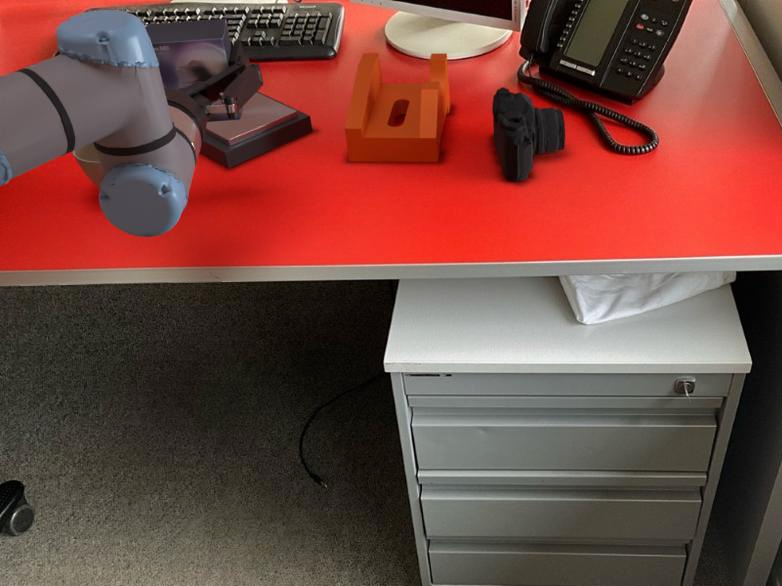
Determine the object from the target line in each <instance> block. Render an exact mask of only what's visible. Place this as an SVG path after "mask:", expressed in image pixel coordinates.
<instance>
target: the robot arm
mask: <svg viewBox="0 0 782 586" xmlns="http://www.w3.org/2000/svg"><path fill="white" fill-rule="evenodd" d="M144 24H145V23H144V22H143V21H142V20H141V19H140V18H139V17H138V16H137V15H134V14H133V13H130V12H126V11H124V10H120V9H98V10H97V9H96V10H90V11H85V12H81V13H78V14H75V15H72V16H70V17H68V18H67V19H66V20H65V21H62V22H60V23H59V25H58V26H57V27H56V30H55V38H56V41H57V46H56V48H57V50H58V52H59V54H58V55H55V56H53V57H49V58H47V59H44V60H41V61H39V62H37V63H33V64H31V65H28V66H25V67H23V68H20V69H17V70H14V71H12V72H10V73H7V74H4V75H0V187H2V186H4V185H6V184H8V183H9V182H10V181H11V180H13V179H14V178H17V177H19V176H21V175H24V174H25V173H28V172H30V171H32V170H34V169H36V168H38V167H40V166H42V165H44V164H47V163H49V162H51V161H53V160H55V159H58V158H60V157H61V156H62V157H63V156H65V155H67V154H70V153H73V151H75V150H77V149H80V148H82V147H84V146H86V145H89V144H91V143H93V144H94V146H95V149H96V151H97V154H98V157H99V160H100V163H101V166H102V169H103V172H104V176H103V178H102V180H101V182H100V189H99V194H98V203H99V207H100V209H101V212H102V214H103V215H104V217H105V218H106V219H107V220H108V222H109V223H110V224H111V225H112V226H114V227H115V228H117V229H118V230H119V231H122V232H123V233H125V234H128V235H131V236H135V237H140V238H141V237H142V238H153V237H158V236H161V235H163V234H166V233H167V232H169V231H171V230H172V229H173V228H174V227H175V226H176V225H177V223H178V222H179V221H180V219H181V216H182V214H183V211H184V210H185V209H186V207H187V204H188V202H189V201H188V199H189V194H190V190H191V185H192V181H193V177H194V173H195V169H196V167H197V164H198V159H199V155H200V154H201V153H200V149H201V146H202V143H203V139H204V136H205V132H206V126H207V121H208V120H210V119H211V118H212V117H213V115H214V114H217V113H224V114H225V115H227V117H228V119H236V118H238V116H239V110H240V109H241V108H242V107H243V106H244V105H245V104H246V103H247V102H248V100H249V99H250V98H251V97H252V96H253V95H254V94H255V93H256V92H257V91H258V92H259V90H260V89H261V88H262V87H264V79H263V75H262V70H261V65H260V63H259V62H253V63H250V58H249V56H248V55H247V54H244V50H243V45H242V41H241V40H240V39H238V40H234V41H233V45H232V51H231V55H230V59H229V64H230V67H228V68H227V69H225V70H223V71H222V72H220V73H218V74H217V75H215V76H213V77H212V78H210V79H208V80H206V81H205V82H202V81H197V82H195V83H193V84H192V85H190V86H188V87H186V88H184V87H183V88H180V89H179V90H176V89H172V88H164V87H163V83H162V79H161V75H160V71H159V62H158V60H157V57H156V54H155V51H154V49H153V46H152V43H151V40H150V38H149V36H148V33H147V31H146V28H145V26H144Z"/></svg>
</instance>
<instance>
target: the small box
mask: <svg viewBox="0 0 782 586" xmlns="http://www.w3.org/2000/svg"><path fill="white" fill-rule="evenodd" d="M143 24H144V26H145V28H146V31H147V33H148V36H149V38H150V40H151V43H152V46H153V49H154V51H155V54H156V57H157V60H158V62H159V71H160V75H161V79H162V83H163V87H164V88H172V89H176V90H179V89H180V88H183V87H184V88H186V87H188V86H190V85H192V84H193V83H195V82H197V81H202V82H205V81H206V80H208V79H210V78H212V77H213V76H215V75H217V74H218V73H220V72H222V71H223V70H225V69H227V68H228V67H230V64H229V59H230V55H231V51H232V48H233V45H232V42H231V38H230V32H229V27H228V20H227V19H226V18H215V19H203V20H188V21H174V22H173V21H172V22H159V23H143ZM242 110H243V107H242V108H241V109H240V110H239V116H238V118H236V119H228V117H227V115H225V114H224V113H217V114H214V115H213V117H212V118H211V119H210V120H208V121H207V122H215V121H229V120H240V119H241V116H242Z"/></svg>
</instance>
